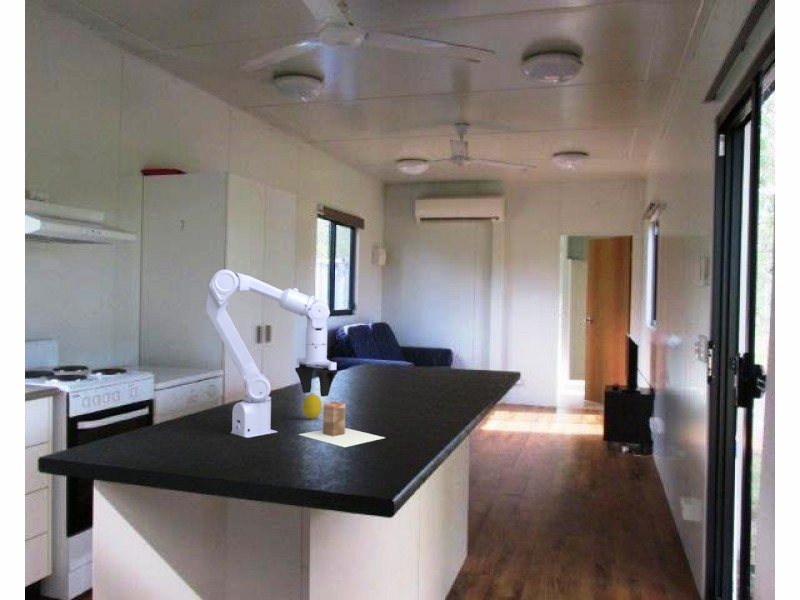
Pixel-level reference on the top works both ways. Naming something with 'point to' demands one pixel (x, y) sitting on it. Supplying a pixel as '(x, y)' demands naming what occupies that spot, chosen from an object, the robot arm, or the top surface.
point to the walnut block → (334, 419)
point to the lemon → (312, 406)
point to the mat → (343, 437)
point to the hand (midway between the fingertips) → (315, 394)
